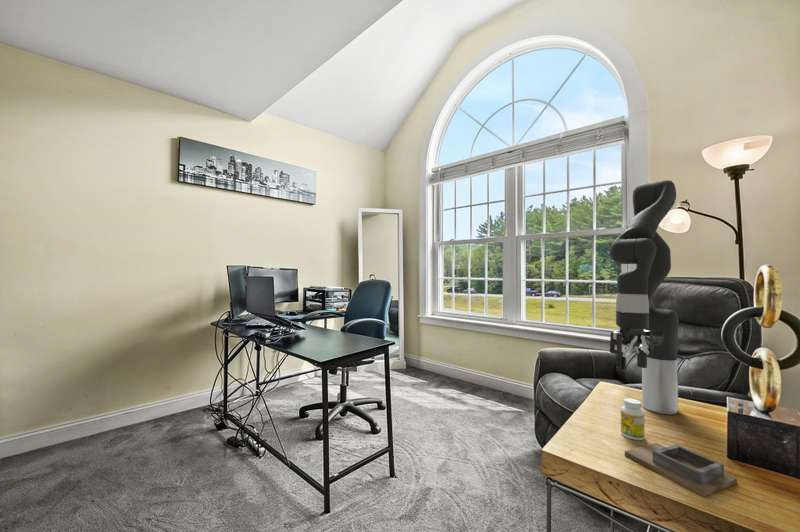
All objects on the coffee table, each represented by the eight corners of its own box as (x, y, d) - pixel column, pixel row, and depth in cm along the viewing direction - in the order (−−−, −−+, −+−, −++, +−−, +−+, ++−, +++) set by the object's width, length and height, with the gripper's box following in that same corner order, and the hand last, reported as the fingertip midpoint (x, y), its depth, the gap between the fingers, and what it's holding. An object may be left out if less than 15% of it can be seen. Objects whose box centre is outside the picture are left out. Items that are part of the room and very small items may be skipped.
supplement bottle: (649, 440, 89) (649, 404, 89) (629, 440, 89) (629, 404, 89) (635, 431, 94) (635, 397, 94) (616, 430, 94) (616, 397, 94)
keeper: (656, 446, 86) (656, 432, 86) (736, 483, 71) (736, 466, 71) (624, 455, 82) (624, 441, 82) (704, 496, 67) (704, 479, 67)
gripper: (635, 308, 98) (635, 363, 98) (601, 309, 93) (600, 367, 93) (663, 311, 91) (663, 370, 91) (628, 312, 86) (627, 374, 86)
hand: (631, 368), depth 92 cm, fingers open, 8 cm apart
